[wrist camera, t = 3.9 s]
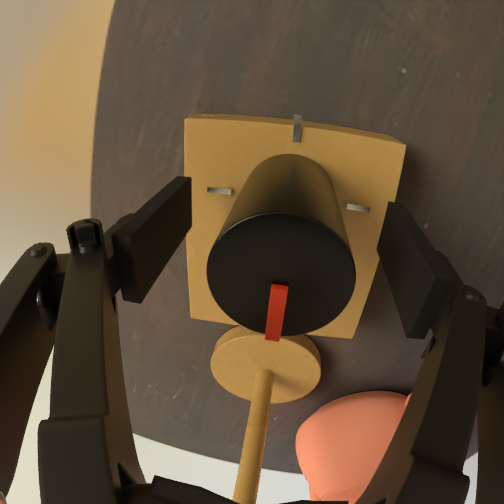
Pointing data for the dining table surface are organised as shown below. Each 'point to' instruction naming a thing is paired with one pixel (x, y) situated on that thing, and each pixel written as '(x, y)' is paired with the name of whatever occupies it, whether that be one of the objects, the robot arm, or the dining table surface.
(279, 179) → the dimmer knob
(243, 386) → the lamp
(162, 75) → the dining table surface
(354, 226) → the tick marked dial plate
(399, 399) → the teapot
